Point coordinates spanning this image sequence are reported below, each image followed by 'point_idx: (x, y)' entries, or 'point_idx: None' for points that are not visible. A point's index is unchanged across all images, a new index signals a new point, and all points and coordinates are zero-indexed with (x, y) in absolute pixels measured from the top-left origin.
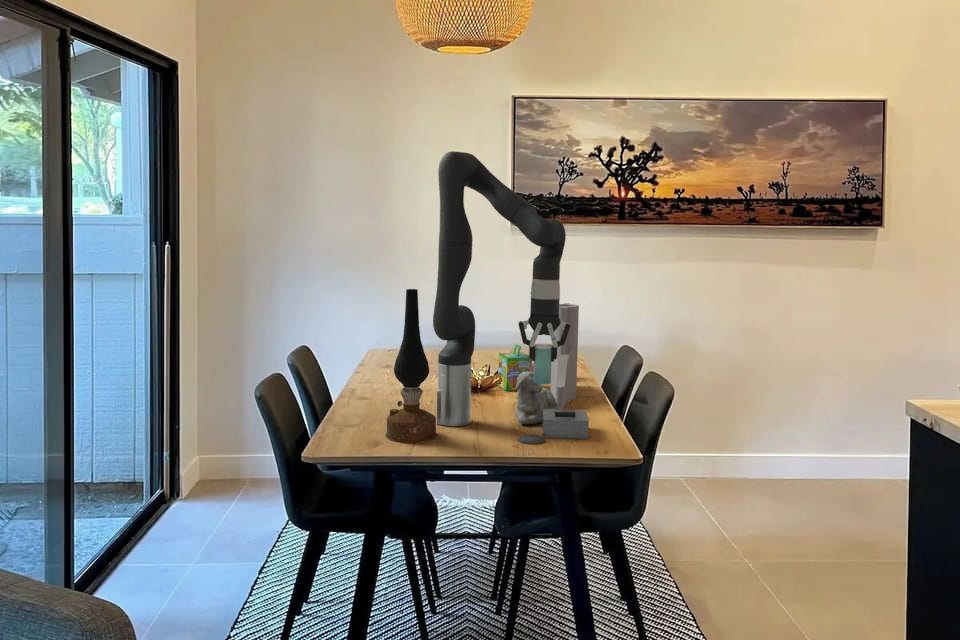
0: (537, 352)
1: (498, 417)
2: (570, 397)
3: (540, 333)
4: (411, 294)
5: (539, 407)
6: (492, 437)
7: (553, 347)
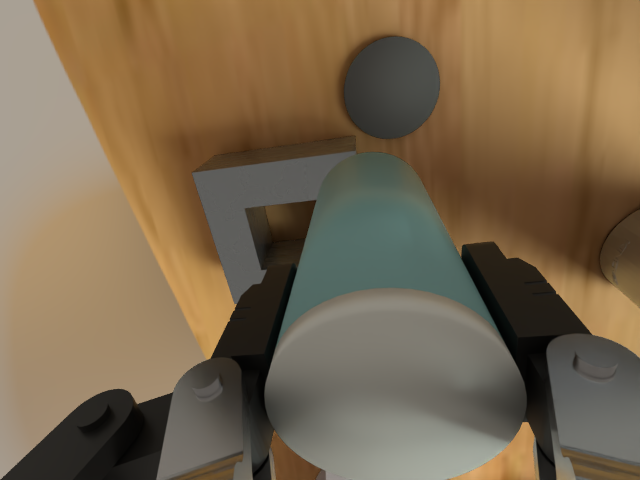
0: (454, 274)
1: None
2: (323, 472)
3: None
4: None
5: None
6: (533, 95)
7: (248, 372)
